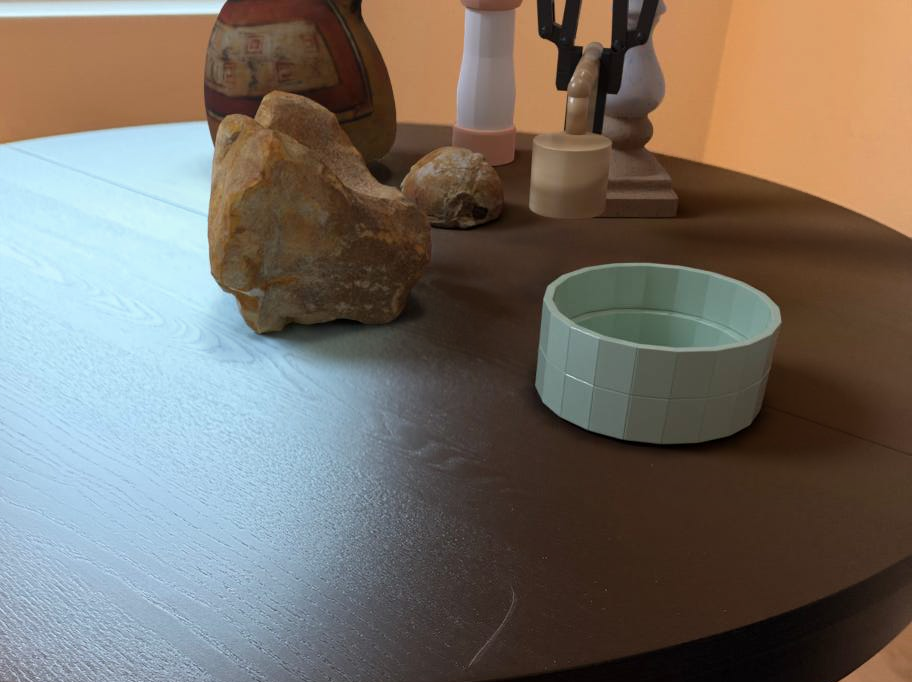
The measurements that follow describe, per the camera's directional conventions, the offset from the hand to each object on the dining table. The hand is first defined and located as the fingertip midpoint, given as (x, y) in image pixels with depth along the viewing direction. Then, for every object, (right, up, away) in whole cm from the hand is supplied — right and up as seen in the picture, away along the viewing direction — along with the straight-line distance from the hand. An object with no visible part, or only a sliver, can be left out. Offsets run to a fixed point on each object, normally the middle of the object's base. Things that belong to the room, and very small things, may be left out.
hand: (583, 132), depth 91 cm
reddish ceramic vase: (-27, +6, +23) cm, 36 cm away
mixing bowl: (+1, -28, -19) cm, 34 cm away
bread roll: (-12, -2, +13) cm, 17 cm away
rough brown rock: (-22, -18, -7) cm, 29 cm away
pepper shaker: (-7, +11, +29) cm, 32 cm away
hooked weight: (-1, -6, -3) cm, 6 cm away
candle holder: (+6, +1, +17) cm, 18 cm away
